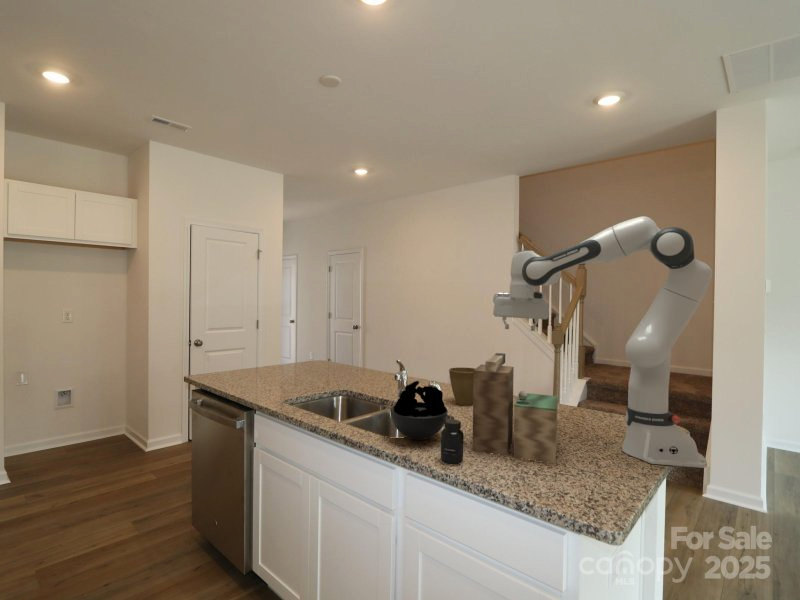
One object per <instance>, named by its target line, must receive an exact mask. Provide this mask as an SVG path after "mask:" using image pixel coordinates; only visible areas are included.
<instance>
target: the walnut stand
mask: <svg viewBox="0 0 800 600" xmlns="http://www.w3.org/2000/svg"><path fill="white" fill-rule="evenodd" d="M513 444H514V366H507V365H506V366H505V365H502V366H501V367H500V368H499V369H498V370H497V371H496V372H485V364H479V366H477V367H476V368H475V370H473V404H472V449H471V451H472V452H475V451H478V452H477V453H482V452H485V453H484V454H489V453H493V454H492V455H495V454H500V455H499V456H502V455H508V456H509V454H510V451H511V448H512V446H513ZM511 445H512V446H511ZM509 450H510V451H509ZM508 453H509V454H508Z"/></svg>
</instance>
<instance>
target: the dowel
mask: <svg viewBox="0 0 800 600" xmlns="http://www.w3.org/2000/svg"><path fill="white" fill-rule="evenodd" d="M505 363H506V353H503V352H502V353H500V352H499V353H498V352H496V353H495V354H494V355H492V356H491V357H489V358H488V359H486V360H485V364H484V365H485V372H496V371H497V370H498V369H499V368H500V367H501V366H504V364H505Z"/></svg>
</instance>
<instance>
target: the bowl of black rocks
mask: <svg viewBox="0 0 800 600" xmlns="http://www.w3.org/2000/svg"><path fill="white" fill-rule="evenodd" d="M419 384H420V381H419V380H415V381H412V382H411V383H409V384H407V385H406V386H405V387H404V390H403V391H402V392H401V394H400V395H399V397H398V399H397V400H396V403H395V404H394V405H393V406H391V408H390V410H389V411H390V417H391V420H392V423H393V425H394V427H395V428H396V429H397V431H398V432H399V433H401V434H402V435H403V436H405V437H406V438H409V439H411V440H412V439H413V440H419V441H420V440H421V441H422V440H426V439H430V438H432V437H434V436H436V434H438V433H439V432H440V431H441V430H443V427H444V426H445V420H447V419H448V418H447V417H448V408H447V407H446V406H445V403H444V400H443V396H444V394H443V391H442V390H440V389H438V387H436V386H434V387H433V386H432V385H431V386H430V385H429V386H428V385H424V386H423V387H421V386H418V385H419ZM417 395H419V397H420V399H421V400H422V401H418V399H417V398H416V397H417Z"/></svg>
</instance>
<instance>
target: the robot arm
mask: <svg viewBox="0 0 800 600" xmlns="http://www.w3.org/2000/svg"><path fill="white" fill-rule="evenodd" d="M695 247H696V245H695V240H694V237H693V236H692V235H691V234H690V233H689V231H687V230H685V229H684V228H682V227H677V226H670V227H669V226H668V227H665V228H662V229H661V228H659V227H658V225H657V223H656V222H655V221H654V220H653V219H652V218H650V217H648V216H643V215H641V216H638V217H637V216H636V217H634V218H630V219H628V220H624V221H622V222H619V223H617V224H614V225H612V226H610V227H607V228H605V229H603V230H601V231H600V232H597V233H596V234H595V235H592V236H591V237H589V238H587V239H585V240H583V241H582V242H579V243H578V244H575V245H573V246H570V247H568V248H565V249H563V250H560V251H558V252H555V253H553V254H550V255H546V256H545V255H544V256H542V255H539V254H538V253H536V252H535V251H533V250H531V249H529V250H527V249H525V250H520V251H517V252H515V253H514V254H513V255H512V258H511V263H510V283H509V292H497V293H495V294H494V295H493V299H492V302H493V305H494V306H493V313H492V315H494V317H498V318H502V319H501V320H502V322H503V324H504V330H510V324H508V323H507V322H506V321H507V318H512V319H513V318H516V319H517V318H518V319H533V320H534V321H533V322H534V324H533V325H530V332H531V331H532V332H535V331H536V326H537V324H538V323H539V320H548V319H549V315H550V314H549V304H548V302H547V301H546V300H545V299H547V295H546V293H545V292H540V291H539V290H536V289H535V287H538V286H546V287H548V286H552V285H555V284H556V283H558V282H559V281H560V280H561V278H562V273H563V272H562V271H565V270H568V269H569V268H573V267H575V266H579V265H581V264H589V263H602V264H603V263H609V262H614V261H617V260H621V259H623V258H626V257H629V256H631V255H633V254H636V253H640V252H643V251H648V252H650V253H652V255H653V257H654V258H655V260H656V261H658V262H659V263H661V264H663V265H665V266H666V267H667V268H668V274H667V276H666V278H665V280H664V282H663V284H662V286H661V287H660V289H659V291H658V292H657V294H656V296H655V298H654V299H653V301H652V303H651V304H650V306H649V308H648V310H647V312H646V313H645V314H644V315H643V317H642V319H641V320H640V322H638V324H637V326H636V327H635V329H634V330H633V332H632V334H631V335H630V336H629V338H628V341H626V344H625V347H624V351H625V352H624V353H625V357H626V359H627V360H628V362H630V364H631V366H630V373H629V378H628V388H627V389H628V390H627V392H628V393H627V394H628V395H627V398H628V399H627V402H628V403H627V404H628V405H627V406H626V411H625V423H626V431H625V436H624V440H623V444H622V447H621V451H623V452H624V453H625V454H627V455H629V456H631V457H633V458H637V459H639V460H642V461H644V462H646V463H648V464H653V465H666V466H676V467H687V468H700V469H701V468H702V469H704V468H706V467H707V466H708V461H707V459H706V457H705V456H704V455H703V454H701V453H699V451H698V448H697V443H696V442H695V440H694V439H693V438H692V436H691V435H689V434H688V433H687V432H685V430H683V429H682V428H681V427H680V426H678V425H677V424H679V423H681V419H680V417H679V416H677V415H675V414H674V413H672V412H671V411H669V389H670V388H669V387H670V386H669V385H670V375H671V365H672V363H671V361H672V348H673V347H674V345H675V344H676V342H677V340H678V339H679V337H680V336H681V335H682V333H683V331H684V329H686V328H687V325H688V324H689V322H690V320H691V319H692V317H693V315H694V313H695V312H696V310H697V309H698V308H699V306H700V304H701V302H702V300H703V299H704V297H705V295H706V293H707V291H708V289H709V287H710V284H711V281H712V277H713V270H712V268H711V266H709V265H708V264H707V263H705V261H704V262H703V261H702V260H699V259H697V258H696V257H695Z"/></svg>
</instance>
